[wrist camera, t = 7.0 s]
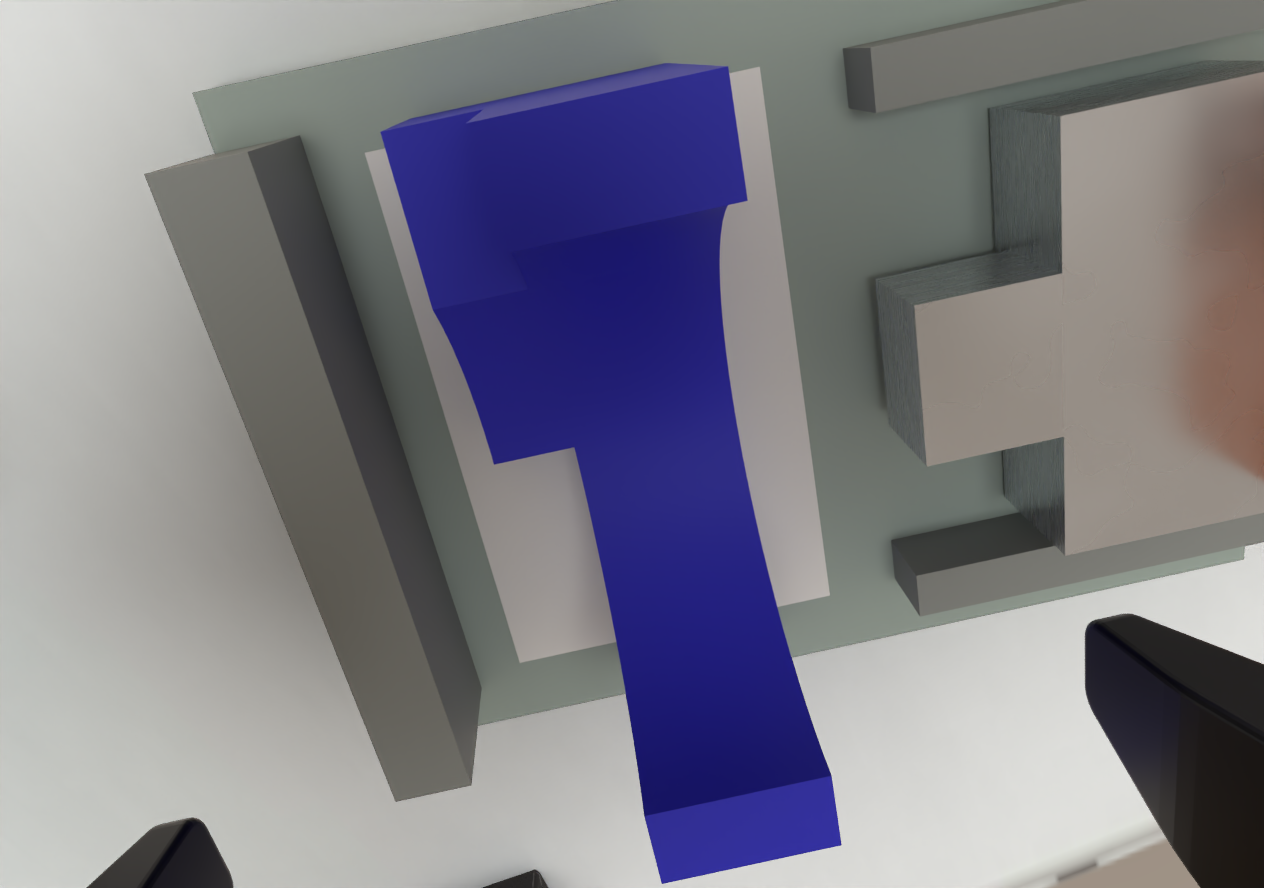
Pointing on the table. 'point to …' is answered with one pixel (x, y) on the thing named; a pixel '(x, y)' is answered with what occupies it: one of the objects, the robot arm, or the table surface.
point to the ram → (1103, 311)
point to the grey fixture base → (752, 320)
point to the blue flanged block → (631, 418)
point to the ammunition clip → (521, 881)
